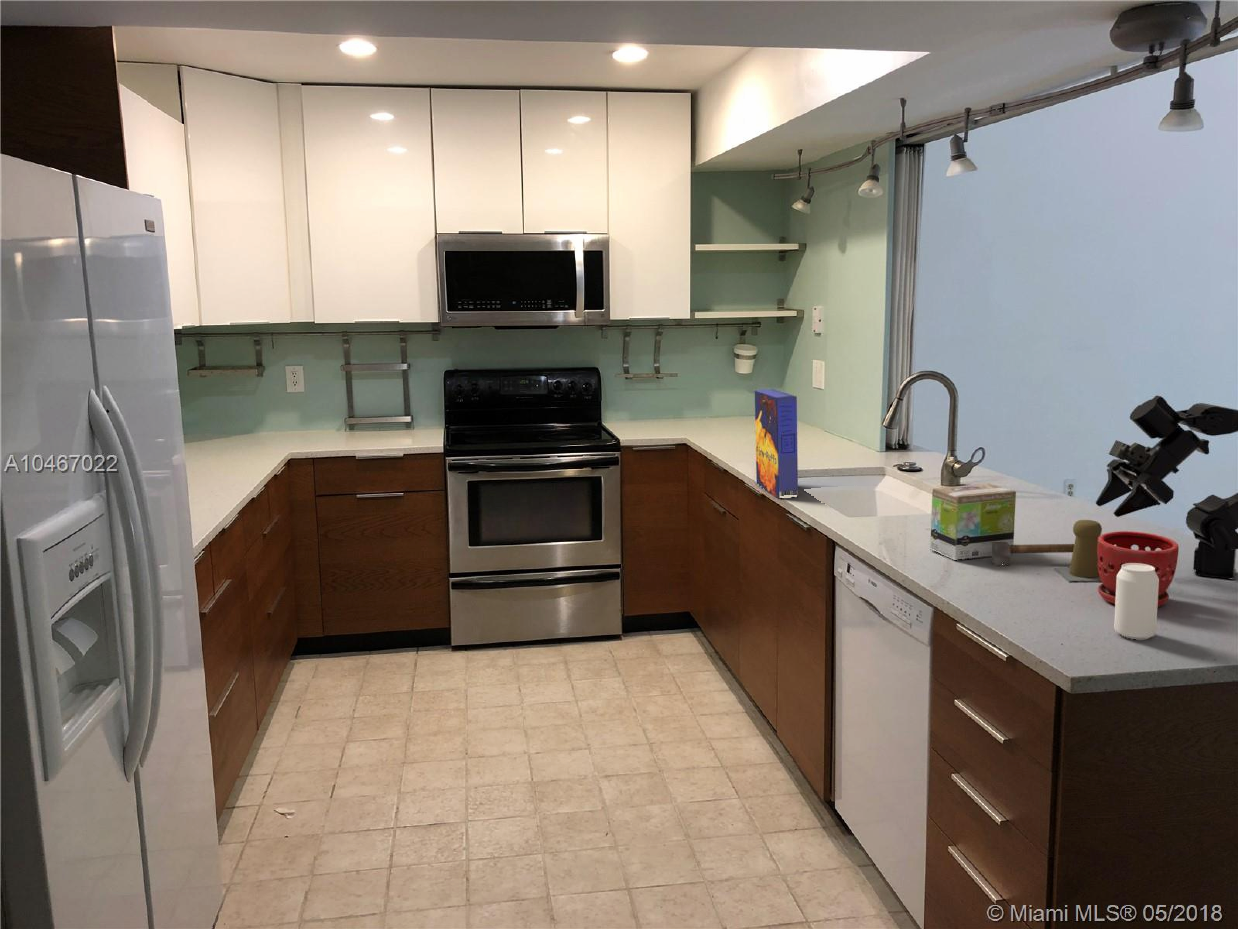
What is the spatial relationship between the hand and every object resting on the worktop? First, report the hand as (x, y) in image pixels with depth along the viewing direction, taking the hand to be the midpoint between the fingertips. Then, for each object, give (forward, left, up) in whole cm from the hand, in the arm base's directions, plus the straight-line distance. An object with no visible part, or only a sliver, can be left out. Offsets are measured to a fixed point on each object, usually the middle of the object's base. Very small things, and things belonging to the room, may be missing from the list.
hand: (1106, 510), depth 189 cm
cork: (+3, +2, -13) cm, 14 cm away
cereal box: (+97, -46, -14) cm, 108 cm away
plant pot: (-8, +15, -14) cm, 22 cm away
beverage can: (-11, +33, -14) cm, 38 cm away
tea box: (+27, -5, -14) cm, 31 cm away
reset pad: (+3, +2, -14) cm, 14 cm away
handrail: (+11, -4, -14) cm, 18 cm away
